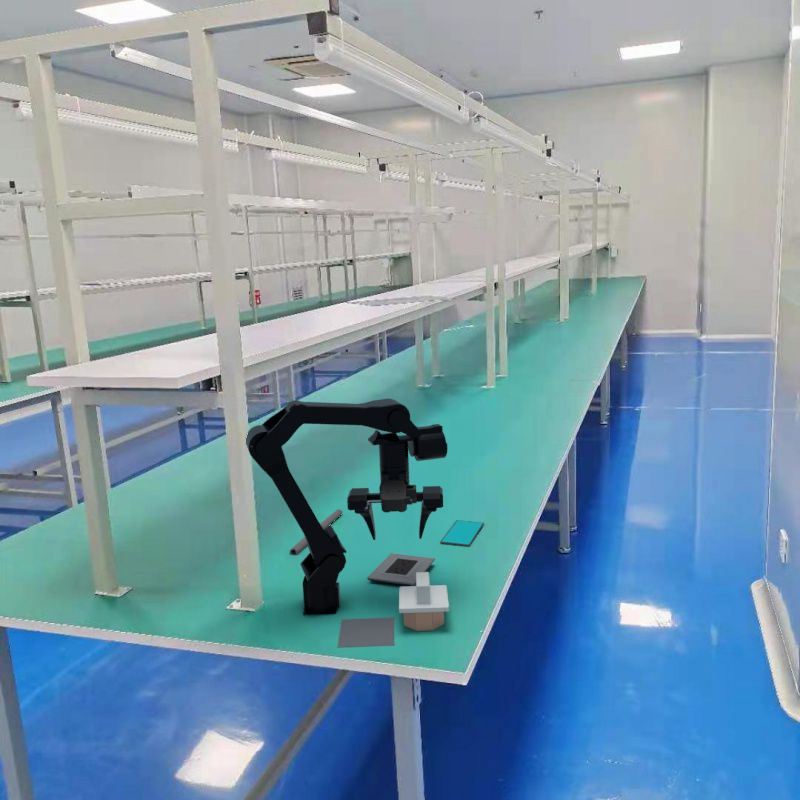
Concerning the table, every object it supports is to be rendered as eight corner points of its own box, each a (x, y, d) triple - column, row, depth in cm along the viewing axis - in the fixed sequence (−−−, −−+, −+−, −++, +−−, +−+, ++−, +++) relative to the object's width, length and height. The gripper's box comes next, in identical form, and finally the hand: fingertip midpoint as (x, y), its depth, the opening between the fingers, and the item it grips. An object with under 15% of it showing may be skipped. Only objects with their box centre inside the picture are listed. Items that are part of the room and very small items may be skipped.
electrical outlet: (414, 593, 148) (413, 582, 148) (367, 586, 152) (366, 576, 152) (435, 567, 160) (434, 557, 160) (391, 561, 164) (390, 551, 164)
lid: (399, 613, 130) (398, 590, 130) (399, 590, 139) (398, 569, 138) (449, 611, 130) (448, 589, 129) (446, 588, 139) (445, 567, 138)
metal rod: (290, 556, 170) (289, 548, 169) (336, 515, 195) (335, 508, 194) (297, 556, 169) (296, 548, 168) (342, 516, 194) (342, 509, 194)
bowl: (404, 633, 132) (403, 611, 131) (403, 614, 139) (402, 592, 138) (445, 632, 132) (444, 609, 131) (442, 612, 139) (442, 590, 138)
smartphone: (439, 542, 172) (456, 520, 186) (439, 545, 172) (456, 523, 186) (469, 545, 169) (484, 522, 183) (469, 548, 170) (484, 525, 183)
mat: (337, 649, 127) (337, 647, 127) (341, 621, 137) (341, 619, 137) (394, 647, 127) (394, 645, 127) (394, 619, 137) (394, 617, 137)
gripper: (342, 477, 134) (346, 556, 137) (442, 474, 134) (445, 553, 137) (348, 460, 145) (352, 534, 148) (441, 458, 144) (443, 531, 148)
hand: (397, 538), depth 145 cm, fingers open, 9 cm apart
